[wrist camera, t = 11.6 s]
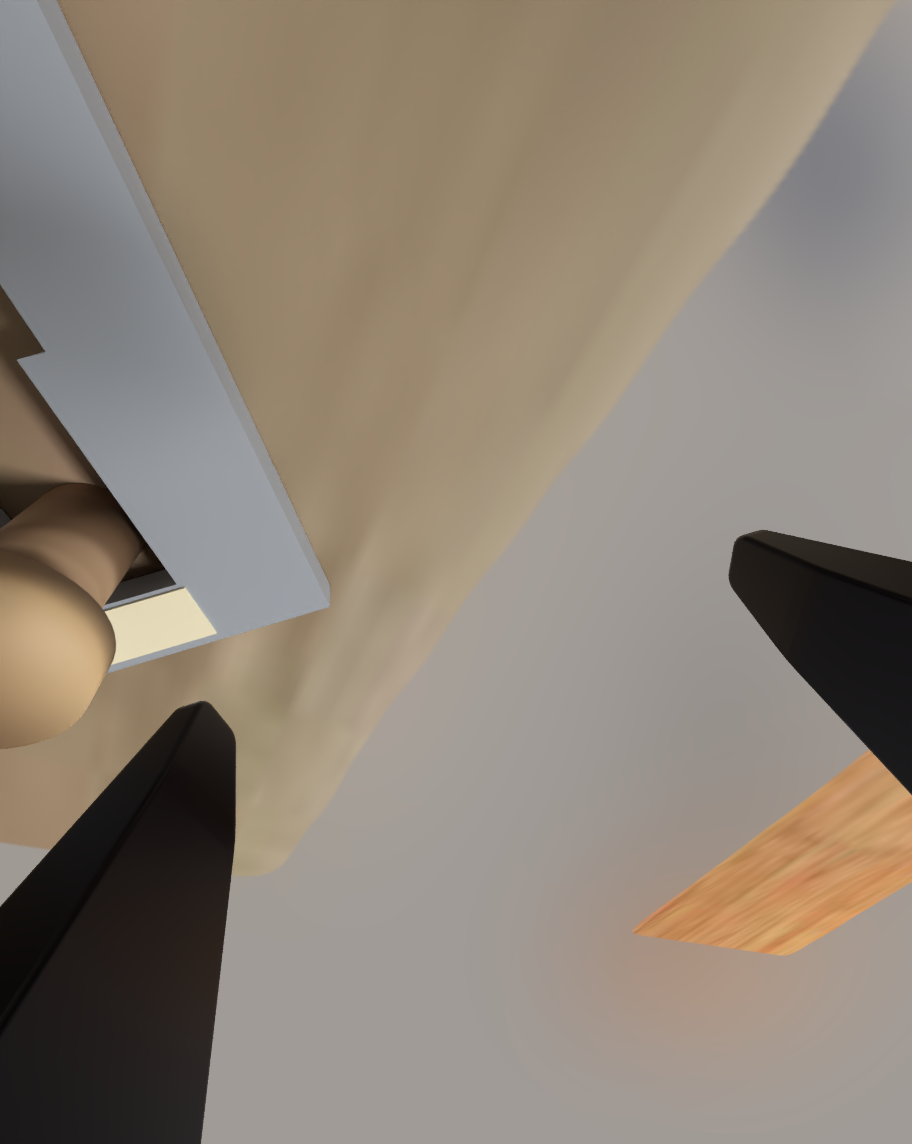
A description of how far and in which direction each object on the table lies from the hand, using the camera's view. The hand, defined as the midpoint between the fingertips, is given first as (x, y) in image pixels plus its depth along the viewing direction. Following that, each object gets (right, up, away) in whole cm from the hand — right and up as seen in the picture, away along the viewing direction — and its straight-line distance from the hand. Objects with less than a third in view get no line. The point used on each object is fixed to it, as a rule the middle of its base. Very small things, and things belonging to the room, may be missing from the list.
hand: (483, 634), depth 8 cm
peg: (-14, +3, +9) cm, 17 cm away
